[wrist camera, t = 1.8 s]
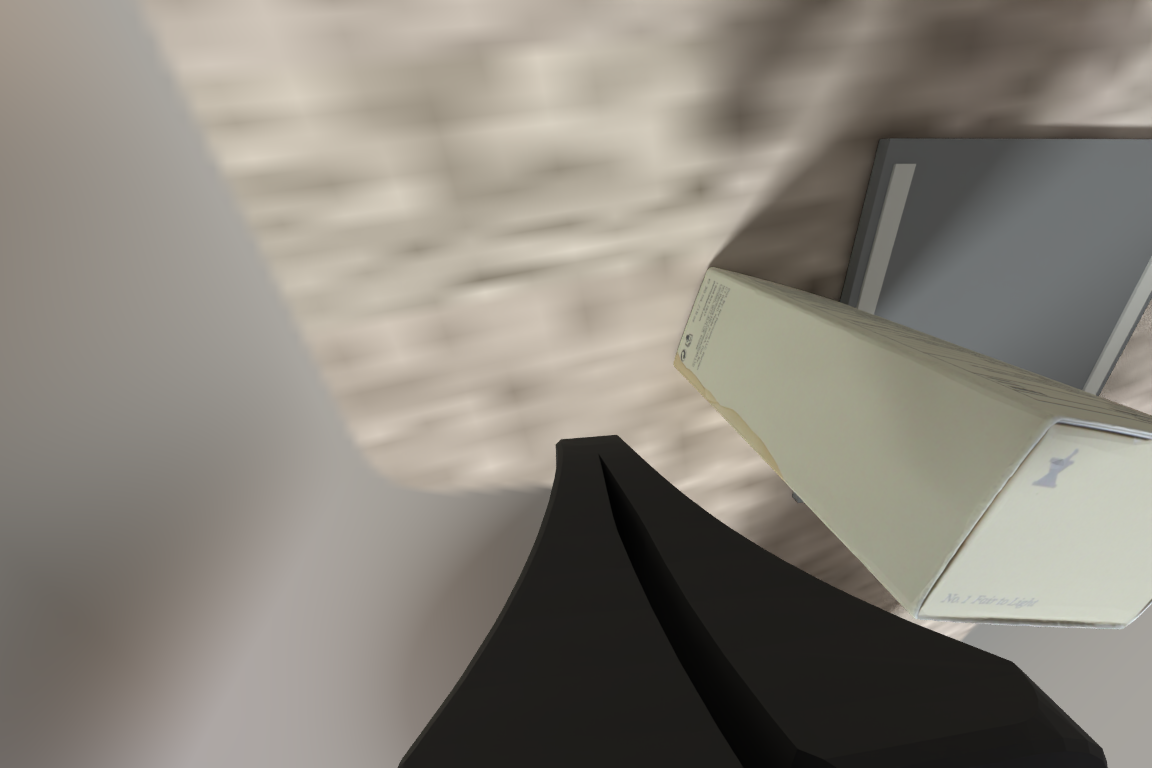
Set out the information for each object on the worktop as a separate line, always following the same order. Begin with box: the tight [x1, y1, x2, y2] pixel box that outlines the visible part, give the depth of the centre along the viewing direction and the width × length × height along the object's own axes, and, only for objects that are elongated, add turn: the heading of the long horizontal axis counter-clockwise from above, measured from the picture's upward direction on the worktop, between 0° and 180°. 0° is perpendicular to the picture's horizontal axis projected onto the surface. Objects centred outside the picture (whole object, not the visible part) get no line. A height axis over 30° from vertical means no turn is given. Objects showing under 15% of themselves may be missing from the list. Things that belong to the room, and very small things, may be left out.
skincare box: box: [674, 267, 1152, 629], centre depth 13 cm, size 6×4×12 cm
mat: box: [792, 138, 1152, 503], centre depth 20 cm, size 16×15×1 cm
